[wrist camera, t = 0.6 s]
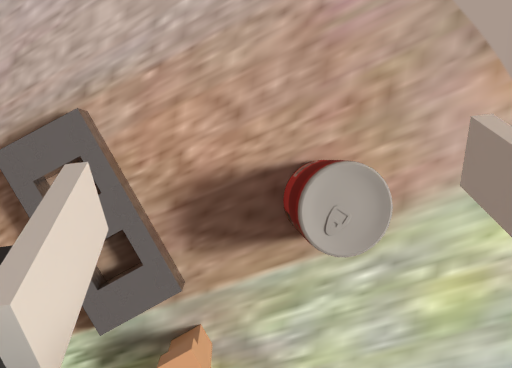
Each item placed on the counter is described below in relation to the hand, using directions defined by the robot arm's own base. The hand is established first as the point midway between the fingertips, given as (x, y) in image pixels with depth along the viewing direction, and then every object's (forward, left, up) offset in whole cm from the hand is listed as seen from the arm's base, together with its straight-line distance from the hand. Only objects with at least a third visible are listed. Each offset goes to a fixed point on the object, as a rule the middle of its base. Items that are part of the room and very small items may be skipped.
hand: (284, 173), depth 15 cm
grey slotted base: (+2, +16, -31) cm, 35 cm away
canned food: (-7, -5, -31) cm, 32 cm away
